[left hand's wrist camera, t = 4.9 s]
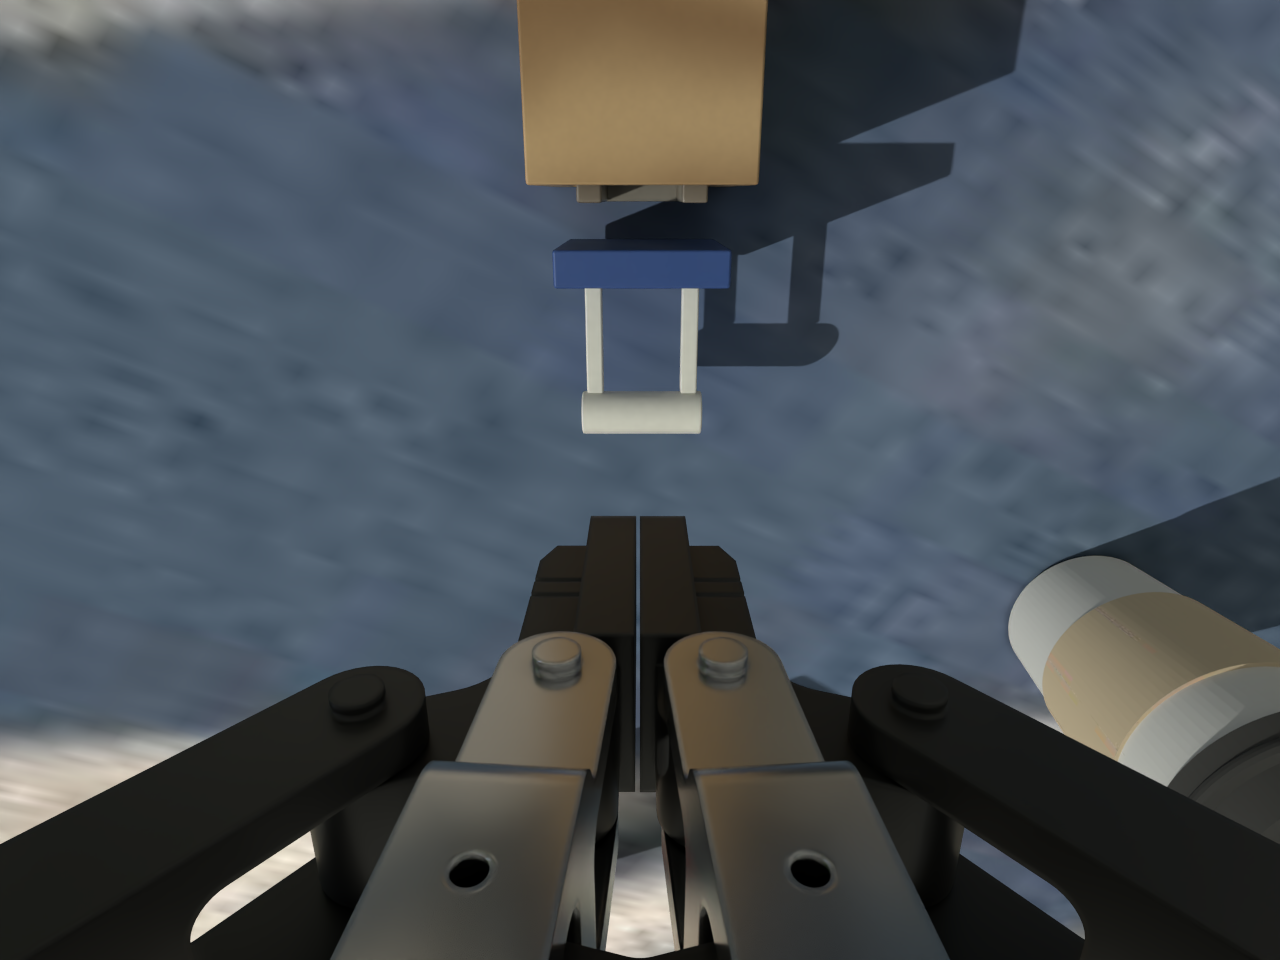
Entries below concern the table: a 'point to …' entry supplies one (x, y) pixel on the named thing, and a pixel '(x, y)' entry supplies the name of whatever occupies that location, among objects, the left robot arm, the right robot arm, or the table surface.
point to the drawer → (642, 269)
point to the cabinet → (642, 91)
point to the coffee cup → (1156, 684)
